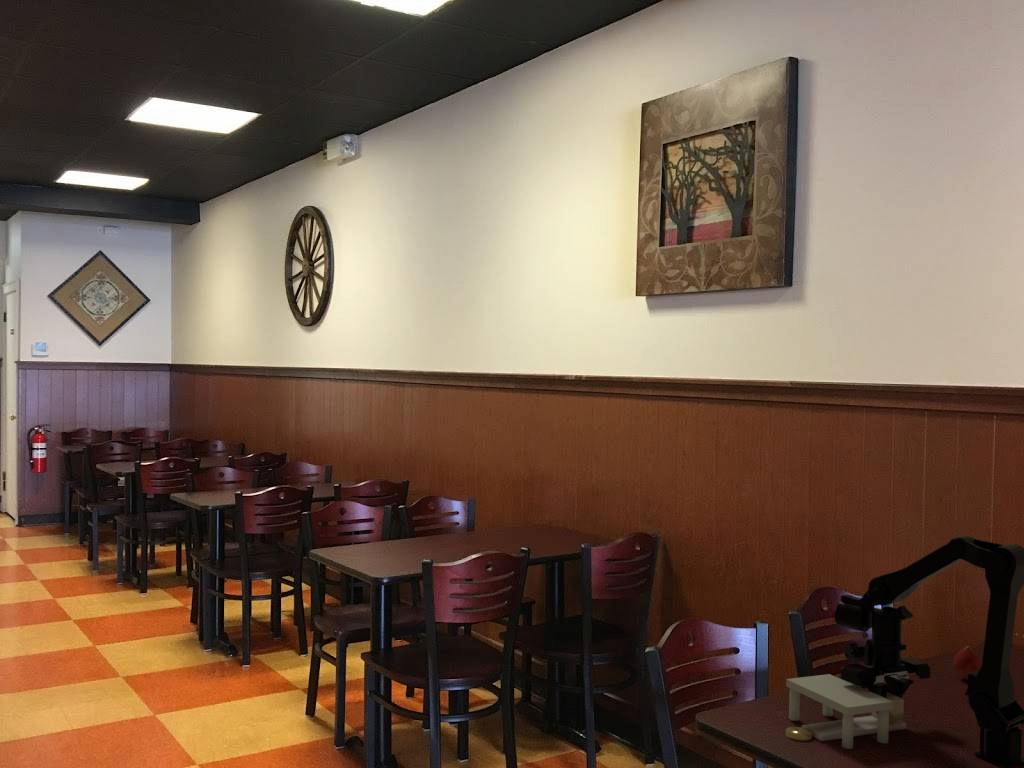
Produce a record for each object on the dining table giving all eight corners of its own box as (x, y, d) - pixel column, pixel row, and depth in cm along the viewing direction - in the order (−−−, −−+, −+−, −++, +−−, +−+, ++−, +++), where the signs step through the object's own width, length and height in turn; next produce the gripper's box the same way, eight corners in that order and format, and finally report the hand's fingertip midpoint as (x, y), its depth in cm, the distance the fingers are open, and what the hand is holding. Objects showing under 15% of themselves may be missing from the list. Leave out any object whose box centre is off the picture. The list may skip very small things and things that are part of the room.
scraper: (905, 728, 195) (906, 698, 195) (821, 741, 187) (822, 710, 187) (883, 718, 201) (884, 689, 201) (801, 730, 193) (802, 700, 193)
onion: (947, 677, 231) (948, 643, 231) (964, 674, 233) (965, 641, 233) (968, 684, 225) (969, 650, 225) (985, 681, 228) (986, 647, 228)
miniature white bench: (892, 742, 187) (893, 701, 187) (846, 749, 183) (848, 707, 183) (828, 712, 204) (829, 674, 204) (785, 718, 200) (786, 679, 199)
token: (817, 739, 189) (817, 733, 189) (801, 744, 186) (801, 737, 186) (796, 731, 193) (796, 725, 193) (780, 736, 190) (780, 729, 190)
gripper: (892, 624, 209) (890, 696, 209) (823, 630, 202) (821, 705, 202) (933, 637, 198) (931, 713, 199) (861, 644, 191) (859, 723, 191)
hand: (884, 713), depth 198 cm, fingers closed on scraper, 2 cm apart
